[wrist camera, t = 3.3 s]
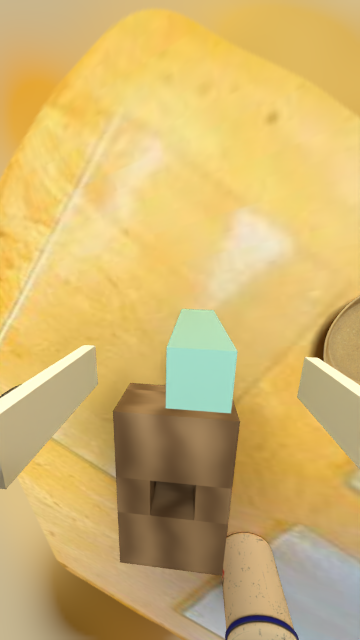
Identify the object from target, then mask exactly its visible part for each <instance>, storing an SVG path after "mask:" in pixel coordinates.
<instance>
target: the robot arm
mask: <svg viewBox="0 0 360 640" xmlns="http://www.w3.org/2000/svg"><path fill="white" fill-rule="evenodd" d="M97 385H98V379H97V365H96V350H95V346H90V345H83V346H82V347H80V348H78V349H77V350H75V351H74V352H72V353H71V354H69V355H67V356H66V357H64V358H63V359H61V360H60V361H58V362H56V363H55V364H53V365H52V366H50V367H49V368H47V369H45V370H44V371H42V372H41V373H39V374H38V375H36V376H34V377H33V378H31V379H30V380H28V381H26V382H25V383H23V384H21V385H18V386H16V387H13V388H12V389H10V390H8V391H7V392H5V393H4V394H2V396H0V489H7V487H8V486H9V485H10V484H11V483H12V482H13V481H14V479H15V478H16V477H17V476H18V475H19V474H20V473H21V471H22V470H23V469H24V468H25V467H26V466H27V465H28V463H29V462H30V461H31V460H32V459H33V458H34V457H35V455H36V454H37V453H38V452H39V451H40V450H41V449H42V447H43V446H44V445H45V444H46V443H47V442H48V441H49V439H50V438H51V437H52V436H53V435H54V434H55V433H56V431H57V430H58V429H59V428H60V427H61V426H62V425H63V423H64V422H65V421H66V420H67V419H68V418H69V417H70V415H71V414H72V413H73V412H74V411H75V410H76V409H77V407H78V406H79V405H80V404H81V403H82V402H83V401H84V399H85V398H86V397H87V396H88V395H89V394H90V393H91V391H92V390H93V389H94V388H95V387H96V386H97ZM297 397H298V399H299V400H300V401H301V402H302V403H303V404H304V406H305V407H306V408H307V409H308V410H309V411H310V412H311V414H312V415H313V416H314V417H315V418H316V419H317V421H318V422H319V423H320V424H321V425H322V426H323V428H324V429H325V430H326V431H327V432H328V433H329V434H330V436H331V437H332V438H333V439H334V440H335V441H336V443H337V444H338V445H339V446H340V447H341V448H342V450H343V451H344V452H345V453H346V454H347V455H348V456H349V458H350V459H351V460H352V461H353V462H354V463H355V465H356V466H357V467H358V468H359V469H360V385H359V384H357V383H356V382H354V381H353V380H351V379H350V378H348V377H346V376H345V375H343V374H342V373H340V372H339V371H337V370H336V369H334V368H333V367H331V366H330V365H328V364H327V363H325V362H323V361H322V360H320V359H319V358H312V357H305V359H304V364H303V369H302V375H301V380H300V385H299V390H298V396H297Z"/></svg>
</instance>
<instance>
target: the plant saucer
mask: <svg viewBox="0 0 360 640" xmlns="http://www.w3.org/2000/svg"><path fill="white" fill-rule="evenodd" d="M323 359H324V362H325V363H327V364H328V365H330V366H331V367H333V368H334V369H336V370H337V371H339V372H340V373H342V374H343V375H345V376H346V377H348V378H350V379H351V380H353V381H354V382H356V383H357V384H359V385H360V296H359V297H357V298H356V299H354V300H353V301H352V302H350V303H349V304H348V305H347V306H346V307H345V308H344V309H343V310H342V311H341V312H340V313H339V314H338V316H337V317H336V318H335V320H334V321H333V323H332V324H331V326H330V328H329V331H328V333H327V336H326V339H325V343H324V351H323Z"/></svg>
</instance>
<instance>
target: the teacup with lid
mask: <svg viewBox="0 0 360 640" xmlns="http://www.w3.org/2000/svg"><path fill="white" fill-rule="evenodd" d="M222 585H223V596H224V607H225V618H226V629H227V630H226V634H225V639H226V640H299V638H298V636H297V634H296V632H295V631H294V628H293V624H292V621H291V617H290V614H289V610H288V607H287V603H286V600H285V596H284V593H283V589H282V585H281V582H280V578H279V575H278V571H277V568H276V564H275V561H274V557H273V554H272V550H271V548H270V546H269V544H268V543H267V542H266V541H265V540H264V539H263V538H261V537H259V536H257V535H255V534H251V533H236V534H233V535H231V536H229V537H227V538H226V546H225V554H224V563H223V572H222Z"/></svg>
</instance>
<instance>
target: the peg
mask: <svg viewBox="0 0 360 640" xmlns="http://www.w3.org/2000/svg"><path fill="white" fill-rule="evenodd" d="M236 360H237V350H236V348H235V346H234V345H233V343H232V341H231V340H230V338H229V336H228V334H227V333H226V331H225V329H224V328H223V326H222V324H221V322H220V321H219V319H218V317H217V316H216V314H215V312H214V310H194V309H182V310H181V313H180V315H179V318H178V320H177V323H176V325H175V328H174V330H173V333H172V335H171V338H170V340H169V343H168V345H167V361H166V408H169V409H181V410H194V411H207V412H220V413H231V408H232V399H233V389H234V379H235V369H236Z"/></svg>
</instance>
